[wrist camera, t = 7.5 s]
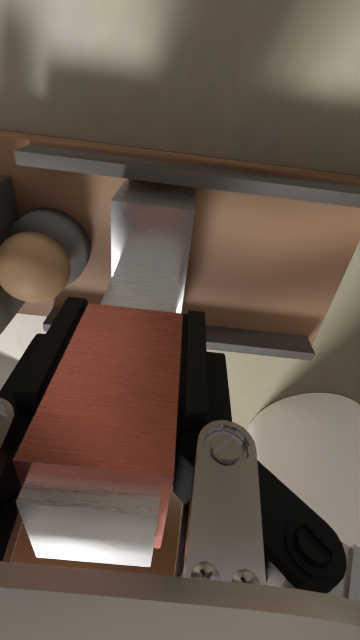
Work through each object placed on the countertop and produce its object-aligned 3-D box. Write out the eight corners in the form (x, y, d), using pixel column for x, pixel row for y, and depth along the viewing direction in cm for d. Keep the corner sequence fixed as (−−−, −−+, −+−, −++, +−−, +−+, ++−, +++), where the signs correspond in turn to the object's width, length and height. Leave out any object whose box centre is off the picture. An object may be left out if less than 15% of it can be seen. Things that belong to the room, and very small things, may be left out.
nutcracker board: (-25, 126, 15) (-134, 149, 10) (369, 177, 15) (450, 222, 10) (12, 297, 20) (-46, 366, 15) (305, 330, 21) (338, 407, 16)
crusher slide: (125, 179, 14) (-41, 413, 4) (195, 188, 14) (193, 437, 4) (123, 313, 18) (37, 591, 8) (178, 319, 18) (157, 600, 8)
